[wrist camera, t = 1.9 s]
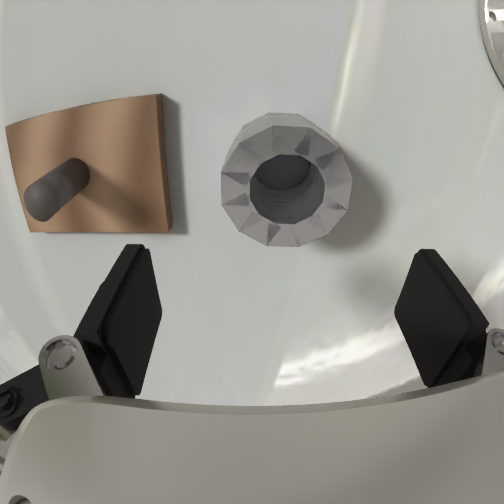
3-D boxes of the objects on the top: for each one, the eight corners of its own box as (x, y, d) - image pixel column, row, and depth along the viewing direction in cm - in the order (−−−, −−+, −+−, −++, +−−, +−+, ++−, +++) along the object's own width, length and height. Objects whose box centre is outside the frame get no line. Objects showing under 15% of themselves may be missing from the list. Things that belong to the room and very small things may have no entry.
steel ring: (336, 117, 18) (359, 132, 14) (325, 211, 22) (340, 248, 18) (229, 111, 18) (220, 124, 14) (229, 208, 22) (222, 244, 18)
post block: (161, 93, 17) (123, 104, 12) (172, 225, 23) (148, 274, 18) (13, 123, 17) (-37, 146, 12) (37, 225, 23) (-1, 264, 18)
